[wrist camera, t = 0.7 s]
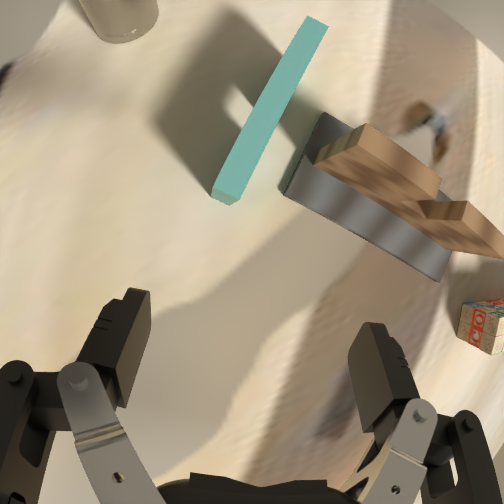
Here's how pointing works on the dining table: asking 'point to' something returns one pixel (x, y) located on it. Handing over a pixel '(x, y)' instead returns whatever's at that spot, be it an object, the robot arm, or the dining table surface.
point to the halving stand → (388, 198)
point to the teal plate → (267, 113)
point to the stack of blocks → (483, 325)
